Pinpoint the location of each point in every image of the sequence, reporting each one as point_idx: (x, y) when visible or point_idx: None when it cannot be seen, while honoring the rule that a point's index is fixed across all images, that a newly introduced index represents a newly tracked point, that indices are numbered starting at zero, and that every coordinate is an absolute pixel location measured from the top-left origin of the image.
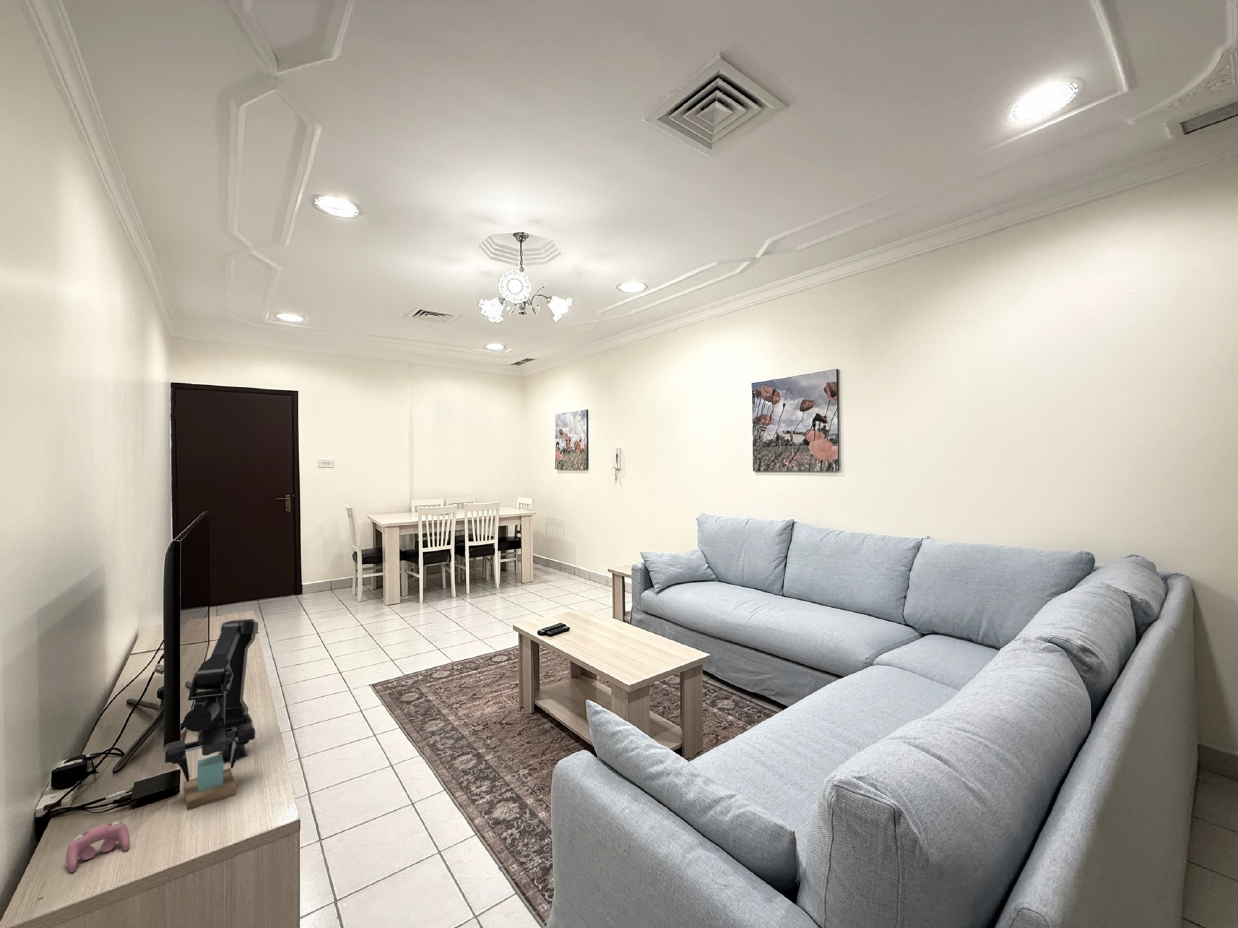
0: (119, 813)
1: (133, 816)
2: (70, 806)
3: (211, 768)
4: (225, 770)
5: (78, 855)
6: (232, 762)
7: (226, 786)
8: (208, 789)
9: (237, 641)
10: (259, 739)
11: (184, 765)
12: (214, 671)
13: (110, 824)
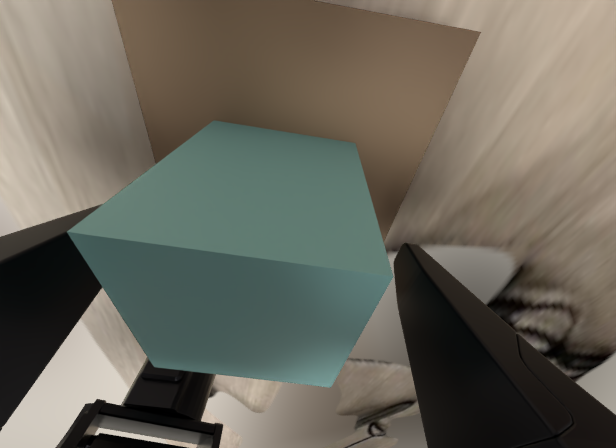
0: (568, 267)
1: (582, 209)
2: (556, 365)
3: (252, 217)
4: None
5: None
6: (72, 226)
7: (190, 59)
8: (302, 126)
9: None
10: (134, 354)
11: (576, 417)
12: None
13: None
